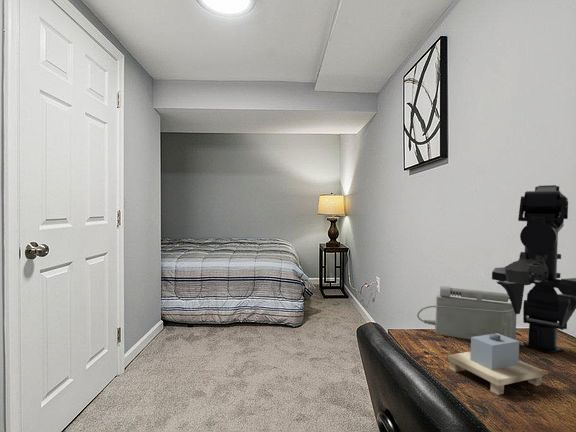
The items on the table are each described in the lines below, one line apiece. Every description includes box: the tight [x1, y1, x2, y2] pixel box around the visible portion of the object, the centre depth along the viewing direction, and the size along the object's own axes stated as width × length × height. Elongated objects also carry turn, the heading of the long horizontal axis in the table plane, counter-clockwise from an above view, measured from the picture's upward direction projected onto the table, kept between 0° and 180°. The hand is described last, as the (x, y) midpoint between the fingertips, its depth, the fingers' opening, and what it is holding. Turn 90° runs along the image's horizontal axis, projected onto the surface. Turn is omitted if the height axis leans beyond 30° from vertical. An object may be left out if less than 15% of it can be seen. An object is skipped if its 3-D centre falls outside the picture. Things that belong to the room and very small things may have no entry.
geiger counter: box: [416, 285, 517, 340], centre depth 96 cm, size 14×6×25 cm
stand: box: [447, 350, 544, 396], centre depth 73 cm, size 13×12×3 cm
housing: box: [470, 333, 520, 370], centre depth 73 cm, size 8×5×6 cm, turn 111°
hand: (538, 319), depth 74 cm, fingers open, 9 cm apart
